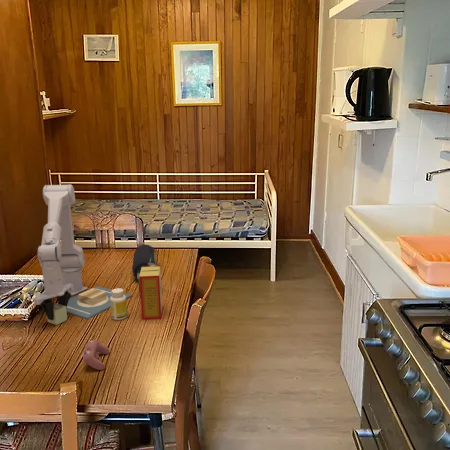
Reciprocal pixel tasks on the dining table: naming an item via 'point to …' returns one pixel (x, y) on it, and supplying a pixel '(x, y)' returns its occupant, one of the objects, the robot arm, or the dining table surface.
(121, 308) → the supplement bottle
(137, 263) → the portable speaker
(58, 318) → the sage block
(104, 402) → the dining table surface
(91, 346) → the video game controller
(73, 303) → the board
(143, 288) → the baking soda box
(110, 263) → the dining table surface
